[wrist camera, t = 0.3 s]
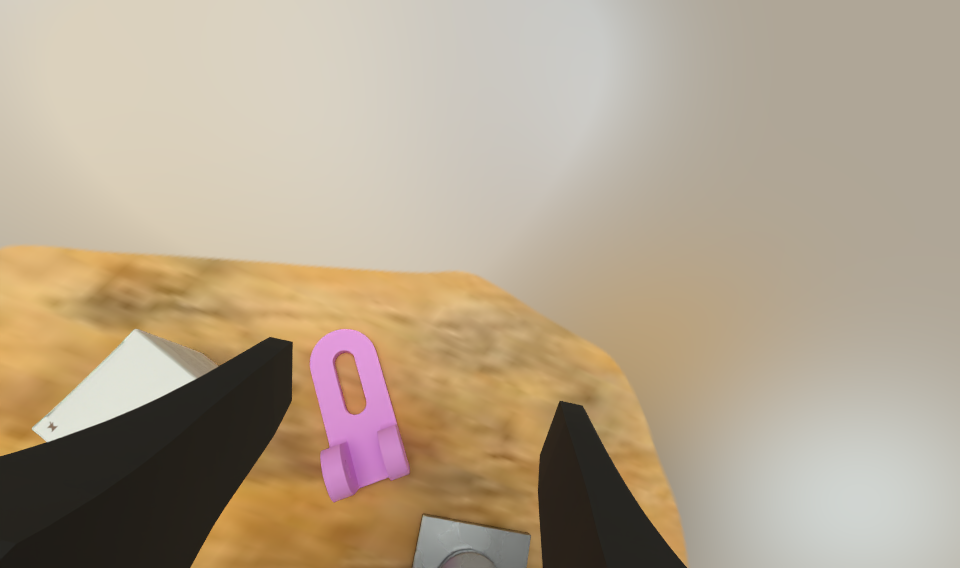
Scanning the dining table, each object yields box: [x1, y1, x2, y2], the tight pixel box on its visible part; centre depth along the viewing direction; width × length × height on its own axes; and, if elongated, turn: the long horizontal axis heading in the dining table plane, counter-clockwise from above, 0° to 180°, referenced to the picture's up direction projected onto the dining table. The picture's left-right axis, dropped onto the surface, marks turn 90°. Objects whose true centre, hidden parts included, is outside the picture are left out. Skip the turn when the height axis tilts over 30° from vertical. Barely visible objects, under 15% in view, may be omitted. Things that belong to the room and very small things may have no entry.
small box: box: [32, 329, 219, 442], centre depth 34 cm, size 8×6×10 cm
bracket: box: [310, 329, 410, 502], centre depth 38 cm, size 13×6×7 cm, turn 19°
